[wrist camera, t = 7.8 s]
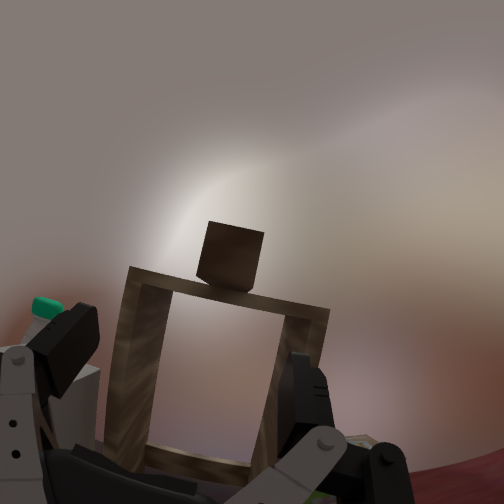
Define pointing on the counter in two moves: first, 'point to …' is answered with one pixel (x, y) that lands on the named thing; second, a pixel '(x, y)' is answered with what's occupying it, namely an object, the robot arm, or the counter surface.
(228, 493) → the counter surface
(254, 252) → the batten
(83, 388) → the riser block
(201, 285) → the wooden open box
